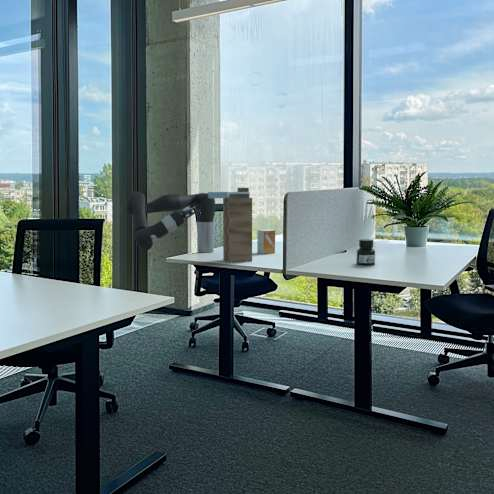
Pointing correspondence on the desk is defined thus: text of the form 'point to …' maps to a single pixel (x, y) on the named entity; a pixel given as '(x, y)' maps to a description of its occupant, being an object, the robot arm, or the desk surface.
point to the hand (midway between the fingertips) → (199, 204)
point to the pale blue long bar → (228, 193)
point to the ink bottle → (365, 252)
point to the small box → (266, 241)
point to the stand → (237, 228)
